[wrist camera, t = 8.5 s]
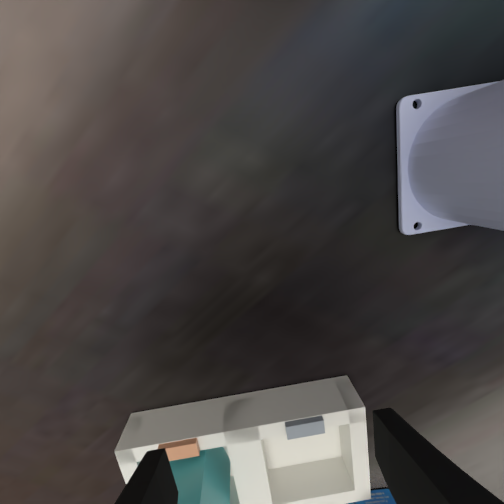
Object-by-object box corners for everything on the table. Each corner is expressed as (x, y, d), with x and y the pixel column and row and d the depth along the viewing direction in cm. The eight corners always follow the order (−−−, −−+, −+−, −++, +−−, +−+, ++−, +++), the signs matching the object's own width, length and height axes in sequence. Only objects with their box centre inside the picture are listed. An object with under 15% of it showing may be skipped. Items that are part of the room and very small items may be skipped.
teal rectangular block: (208, 421, 21) (198, 516, 15) (230, 460, 22) (229, 563, 16) (158, 440, 21) (129, 542, 15) (182, 478, 22) (163, 586, 16)
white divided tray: (347, 375, 21) (367, 411, 18) (353, 458, 23) (373, 505, 20) (131, 413, 21) (111, 457, 17) (157, 494, 23) (144, 547, 19)
